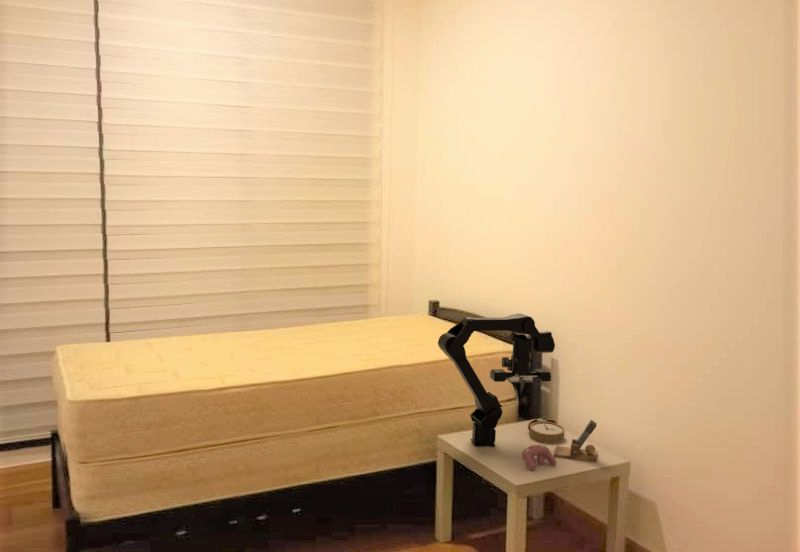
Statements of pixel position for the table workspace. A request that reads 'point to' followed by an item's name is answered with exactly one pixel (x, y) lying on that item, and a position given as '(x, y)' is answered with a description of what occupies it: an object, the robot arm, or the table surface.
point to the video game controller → (541, 454)
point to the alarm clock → (546, 431)
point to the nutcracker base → (576, 452)
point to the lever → (586, 433)
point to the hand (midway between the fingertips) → (519, 401)
